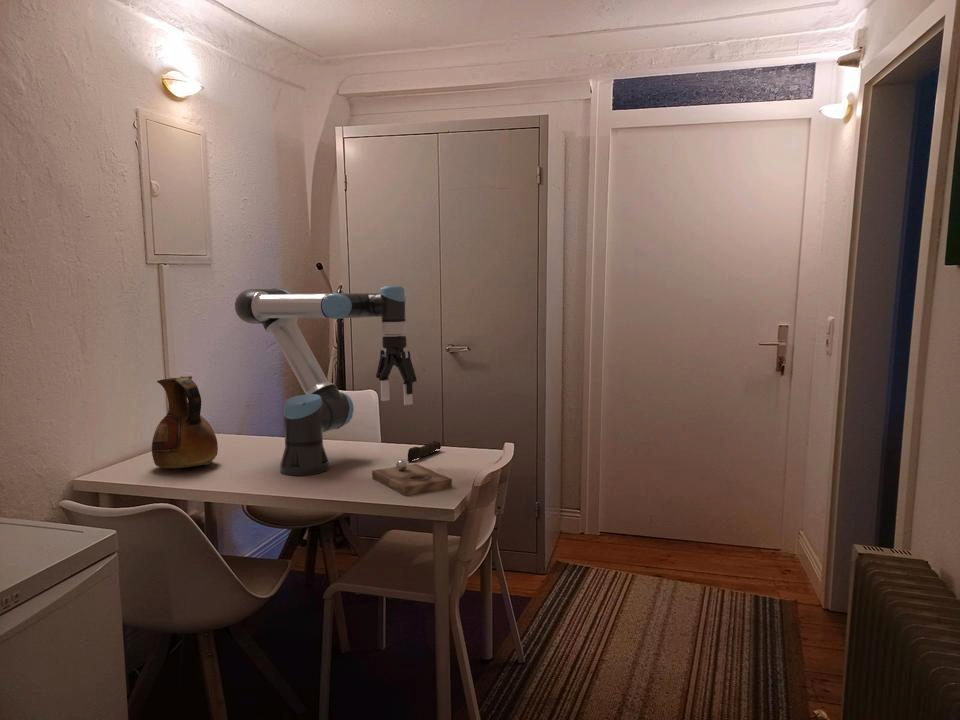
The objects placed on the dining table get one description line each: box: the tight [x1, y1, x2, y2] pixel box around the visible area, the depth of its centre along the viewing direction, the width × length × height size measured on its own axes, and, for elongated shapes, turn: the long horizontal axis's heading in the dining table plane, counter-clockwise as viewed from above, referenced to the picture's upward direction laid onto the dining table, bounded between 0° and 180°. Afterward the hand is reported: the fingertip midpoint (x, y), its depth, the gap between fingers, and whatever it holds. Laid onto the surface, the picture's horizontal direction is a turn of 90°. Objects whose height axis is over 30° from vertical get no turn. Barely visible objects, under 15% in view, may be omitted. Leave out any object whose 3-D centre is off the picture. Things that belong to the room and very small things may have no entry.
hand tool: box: [407, 440, 442, 462], centre depth 239 cm, size 19×4×5 cm, turn 151°
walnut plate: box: [371, 463, 453, 497], centre depth 205 cm, size 15×22×2 cm
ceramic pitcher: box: [151, 375, 219, 469], centre depth 224 cm, size 20×20×30 cm
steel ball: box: [396, 459, 408, 471], centre depth 209 cm, size 3×3×3 cm
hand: (396, 402), depth 220 cm, fingers open, 13 cm apart
